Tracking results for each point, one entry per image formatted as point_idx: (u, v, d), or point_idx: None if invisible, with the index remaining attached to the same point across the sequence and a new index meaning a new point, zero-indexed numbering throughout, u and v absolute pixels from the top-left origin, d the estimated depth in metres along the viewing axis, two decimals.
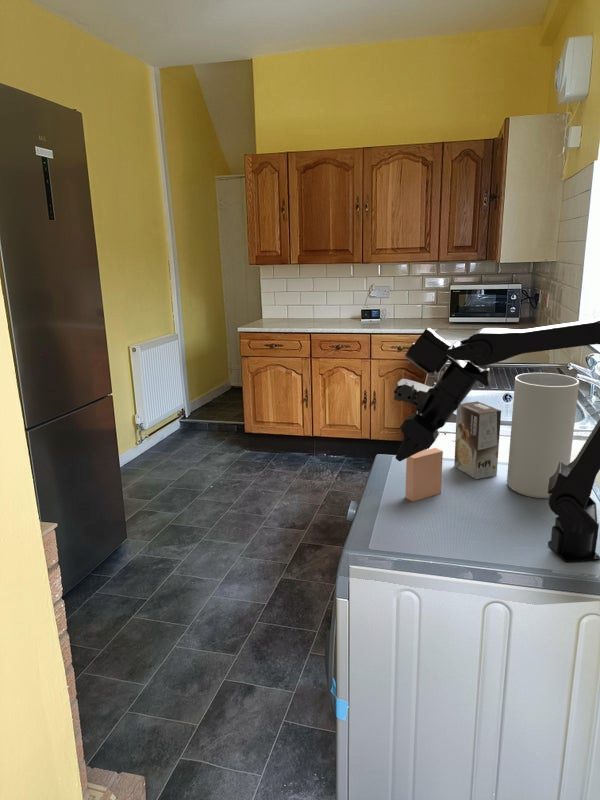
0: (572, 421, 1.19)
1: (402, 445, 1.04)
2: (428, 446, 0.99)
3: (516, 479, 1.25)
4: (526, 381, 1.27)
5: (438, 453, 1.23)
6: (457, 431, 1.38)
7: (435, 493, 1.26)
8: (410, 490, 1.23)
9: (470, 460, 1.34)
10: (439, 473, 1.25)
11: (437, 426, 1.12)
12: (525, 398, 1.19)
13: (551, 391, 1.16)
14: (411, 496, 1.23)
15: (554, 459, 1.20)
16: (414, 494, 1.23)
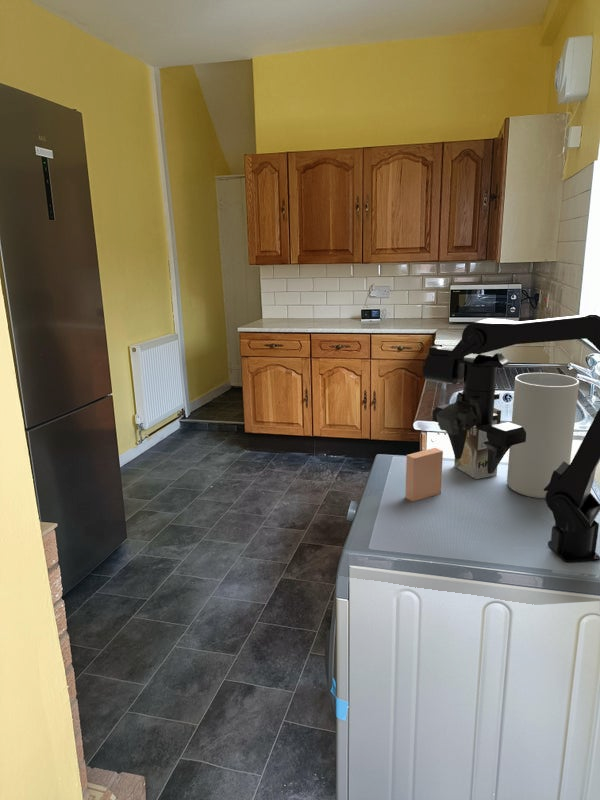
0: (572, 421, 1.19)
1: (493, 458, 1.04)
2: (525, 438, 1.02)
3: (516, 479, 1.25)
4: (526, 381, 1.27)
5: (438, 453, 1.23)
6: None
7: (435, 493, 1.26)
8: (410, 490, 1.23)
9: (470, 460, 1.34)
10: (439, 473, 1.25)
11: None
12: (525, 398, 1.19)
13: (551, 391, 1.16)
14: (411, 496, 1.23)
15: (554, 459, 1.20)
16: (414, 494, 1.23)
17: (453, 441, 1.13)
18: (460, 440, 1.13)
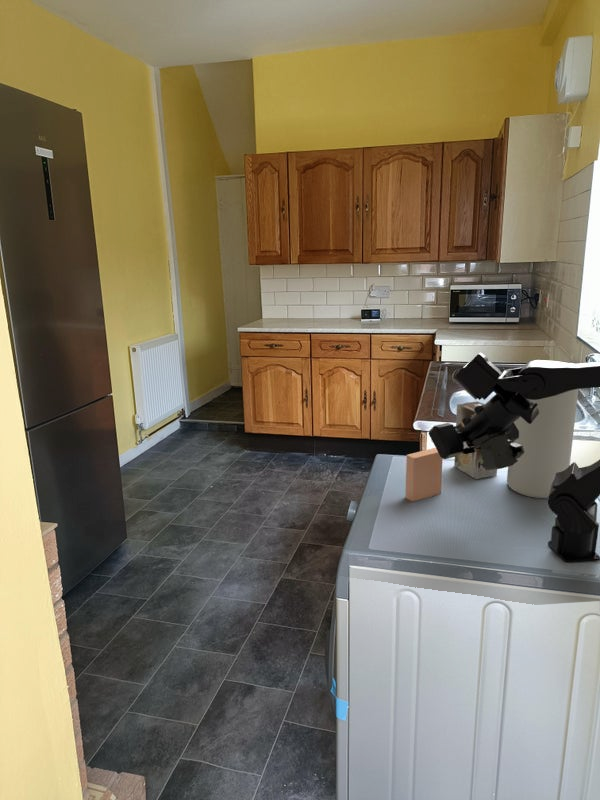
0: (572, 421, 1.19)
1: None
2: None
3: (516, 479, 1.25)
4: None
5: (438, 453, 1.23)
6: None
7: (435, 493, 1.26)
8: (410, 490, 1.23)
9: (470, 460, 1.34)
10: (439, 473, 1.25)
11: None
12: None
13: None
14: (411, 496, 1.23)
15: (554, 459, 1.20)
16: (414, 494, 1.23)
17: None
18: None
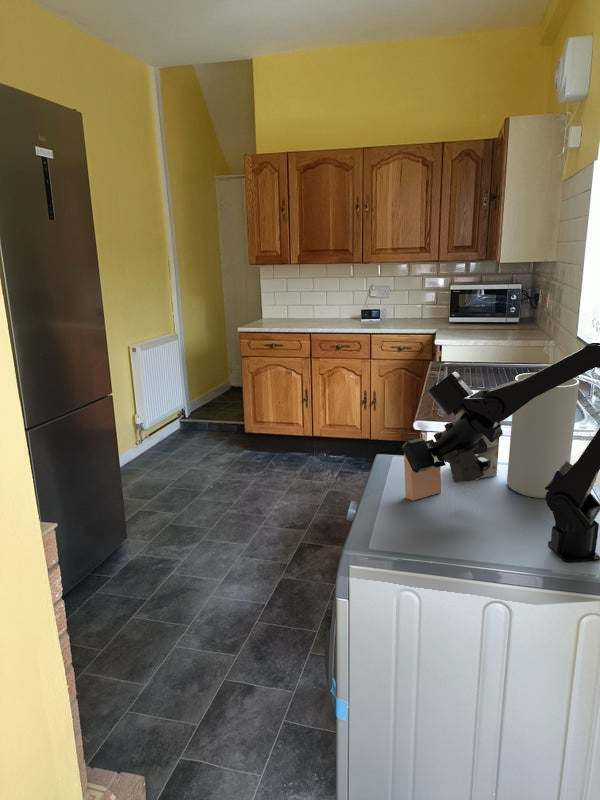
0: (572, 421, 1.19)
1: None
2: None
3: (516, 479, 1.25)
4: None
5: None
6: None
7: (435, 492, 1.26)
8: (409, 489, 1.23)
9: None
10: (437, 471, 1.25)
11: None
12: None
13: (551, 391, 1.16)
14: (411, 495, 1.23)
15: (554, 459, 1.20)
16: (413, 493, 1.23)
17: None
18: None
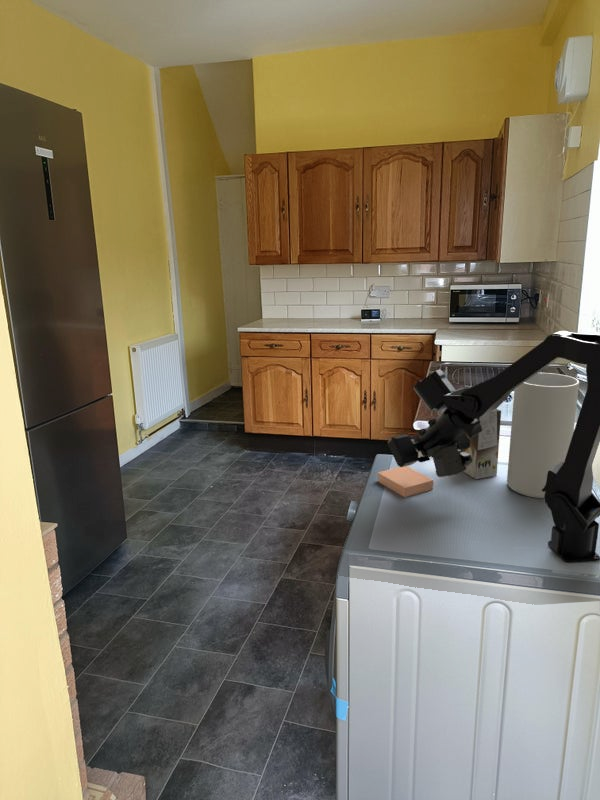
0: (572, 421, 1.19)
1: None
2: None
3: (516, 479, 1.25)
4: (526, 381, 1.27)
5: None
6: None
7: (426, 481, 1.28)
8: (398, 487, 1.27)
9: None
10: (416, 473, 1.32)
11: None
12: (525, 398, 1.19)
13: (551, 391, 1.16)
14: (401, 487, 1.26)
15: (554, 459, 1.20)
16: (402, 484, 1.26)
17: None
18: None
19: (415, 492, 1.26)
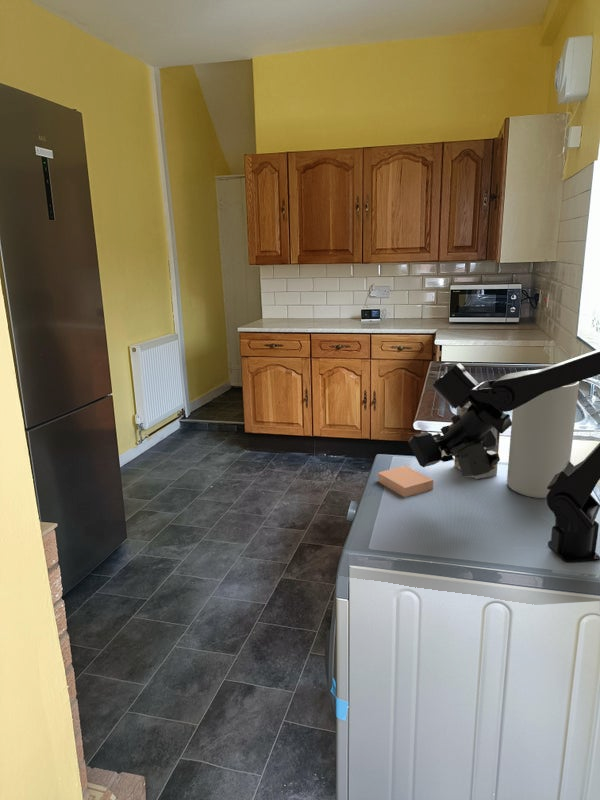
0: (572, 421, 1.19)
1: None
2: None
3: (516, 479, 1.25)
4: None
5: (401, 467, 1.36)
6: None
7: (426, 481, 1.28)
8: (398, 487, 1.27)
9: None
10: (416, 473, 1.32)
11: None
12: None
13: (551, 391, 1.16)
14: (401, 487, 1.26)
15: (554, 459, 1.20)
16: (402, 484, 1.26)
17: None
18: None
19: (415, 492, 1.26)
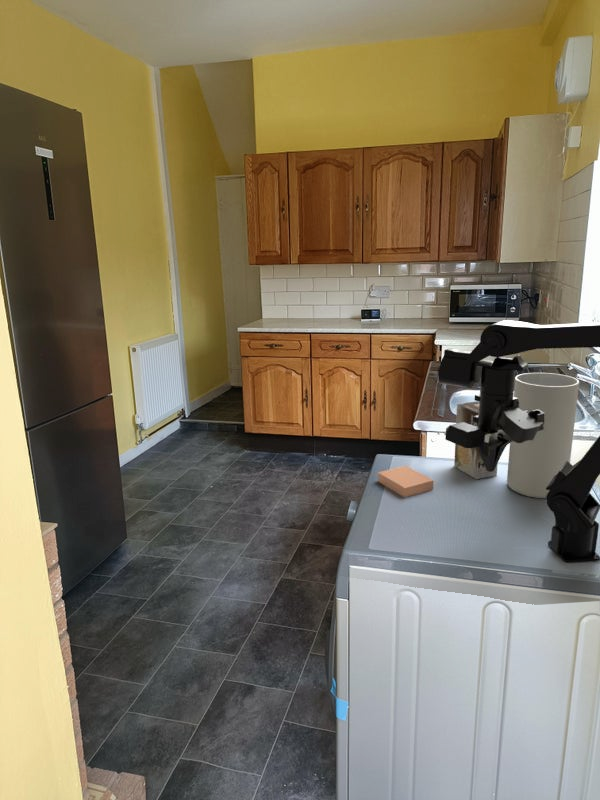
0: (572, 421, 1.19)
1: None
2: None
3: (516, 479, 1.25)
4: (526, 381, 1.27)
5: (402, 467, 1.36)
6: None
7: (427, 481, 1.28)
8: (398, 487, 1.27)
9: (470, 460, 1.34)
10: (416, 473, 1.32)
11: None
12: (525, 398, 1.19)
13: (551, 391, 1.16)
14: (401, 487, 1.25)
15: (554, 459, 1.20)
16: (402, 485, 1.26)
17: (494, 454, 1.05)
18: None
19: (415, 492, 1.26)
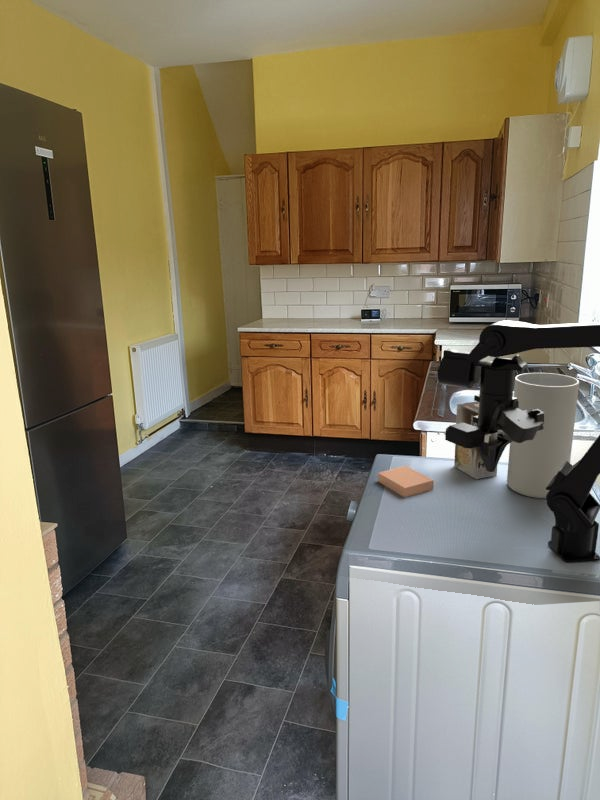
0: (572, 421, 1.19)
1: None
2: None
3: (516, 479, 1.25)
4: (526, 381, 1.27)
5: (402, 467, 1.36)
6: None
7: (427, 481, 1.28)
8: (398, 487, 1.27)
9: (470, 460, 1.34)
10: (416, 473, 1.32)
11: None
12: (525, 398, 1.19)
13: (551, 391, 1.16)
14: (401, 487, 1.25)
15: (554, 459, 1.20)
16: (402, 485, 1.26)
17: (494, 454, 1.05)
18: None
19: (415, 492, 1.26)
